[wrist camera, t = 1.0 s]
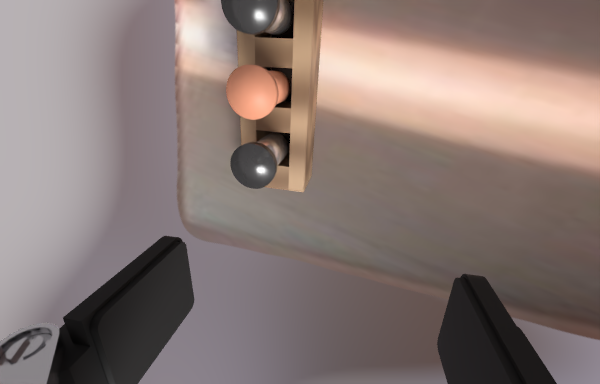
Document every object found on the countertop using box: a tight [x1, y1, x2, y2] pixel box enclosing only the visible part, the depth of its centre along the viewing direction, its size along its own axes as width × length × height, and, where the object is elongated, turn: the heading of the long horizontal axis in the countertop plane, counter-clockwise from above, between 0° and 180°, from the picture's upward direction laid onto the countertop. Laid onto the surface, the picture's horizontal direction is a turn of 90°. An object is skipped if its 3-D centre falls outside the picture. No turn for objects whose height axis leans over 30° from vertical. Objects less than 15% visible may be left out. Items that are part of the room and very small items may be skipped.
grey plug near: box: [221, 0, 293, 35], centre depth 22 cm, size 4×4×7 cm
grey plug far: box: [231, 133, 289, 189], centre depth 27 cm, size 4×4×7 cm
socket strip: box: [237, 0, 323, 192], centre depth 29 cm, size 21×7×5 cm, turn 177°
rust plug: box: [226, 65, 291, 120], centre depth 25 cm, size 4×4×7 cm
